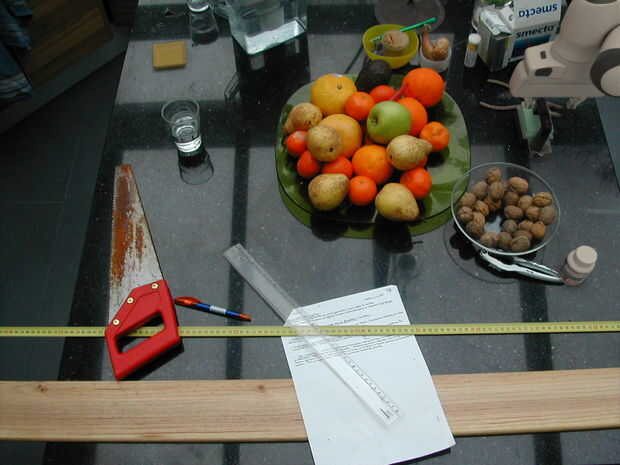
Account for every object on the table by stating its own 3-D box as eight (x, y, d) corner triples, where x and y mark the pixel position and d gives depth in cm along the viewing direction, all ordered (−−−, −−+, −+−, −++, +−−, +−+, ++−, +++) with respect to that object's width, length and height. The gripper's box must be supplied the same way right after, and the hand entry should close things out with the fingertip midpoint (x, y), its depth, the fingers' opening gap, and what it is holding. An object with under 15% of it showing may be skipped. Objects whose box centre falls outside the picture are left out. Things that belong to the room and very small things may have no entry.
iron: (513, 114, 139) (525, 86, 131) (542, 114, 139) (555, 86, 131) (522, 163, 132) (535, 137, 124) (553, 164, 132) (568, 138, 123)
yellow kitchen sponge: (186, 46, 155) (185, 40, 153) (187, 68, 150) (186, 62, 149) (155, 50, 154) (153, 44, 152) (155, 72, 150) (153, 66, 148)
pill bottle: (570, 258, 119) (586, 237, 111) (588, 277, 117) (607, 257, 109) (551, 271, 118) (567, 250, 110) (570, 290, 115) (587, 270, 108)
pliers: (481, 77, 145) (562, 87, 142) (480, 80, 146) (560, 89, 143) (479, 105, 140) (563, 115, 138) (479, 108, 141) (561, 118, 138)
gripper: (619, 48, 116) (593, 96, 127) (518, 48, 117) (501, 96, 129) (627, 70, 112) (599, 117, 124) (522, 70, 114) (505, 117, 125)
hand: (548, 107), depth 126 cm, fingers open, 8 cm apart
